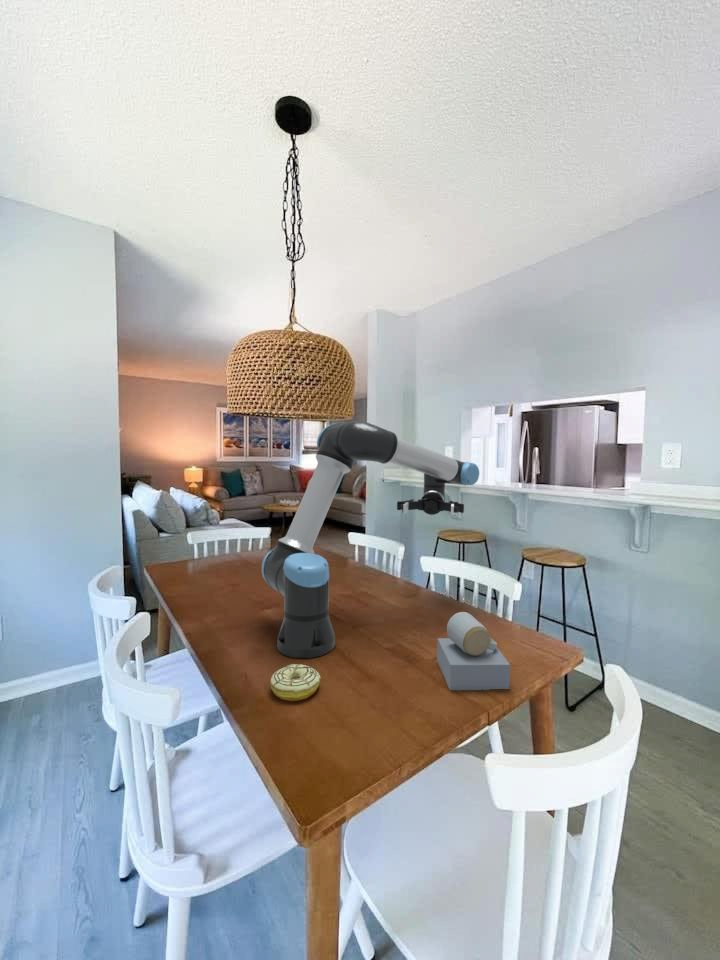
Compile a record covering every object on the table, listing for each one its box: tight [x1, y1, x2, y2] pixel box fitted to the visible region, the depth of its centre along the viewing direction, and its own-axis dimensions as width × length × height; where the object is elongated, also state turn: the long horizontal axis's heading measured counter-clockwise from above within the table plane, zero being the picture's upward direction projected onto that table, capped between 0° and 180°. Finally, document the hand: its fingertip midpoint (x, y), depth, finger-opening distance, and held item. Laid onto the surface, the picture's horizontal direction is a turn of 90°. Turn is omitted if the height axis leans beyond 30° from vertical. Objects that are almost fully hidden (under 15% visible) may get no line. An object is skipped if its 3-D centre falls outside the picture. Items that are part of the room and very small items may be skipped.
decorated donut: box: [270, 663, 321, 702], centre depth 89 cm, size 10×11×4 cm
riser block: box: [436, 637, 511, 691], centre depth 96 cm, size 13×13×6 cm
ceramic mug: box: [446, 611, 498, 656], centre depth 96 cm, size 11×8×8 cm
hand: (428, 510), depth 119 cm, fingers open, 13 cm apart
